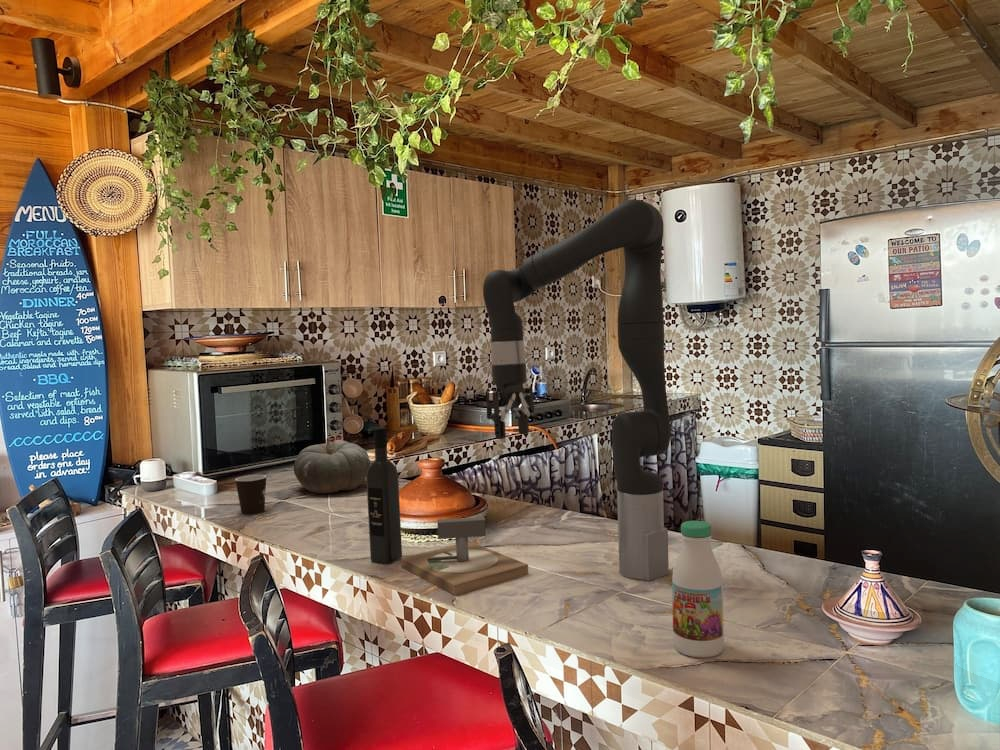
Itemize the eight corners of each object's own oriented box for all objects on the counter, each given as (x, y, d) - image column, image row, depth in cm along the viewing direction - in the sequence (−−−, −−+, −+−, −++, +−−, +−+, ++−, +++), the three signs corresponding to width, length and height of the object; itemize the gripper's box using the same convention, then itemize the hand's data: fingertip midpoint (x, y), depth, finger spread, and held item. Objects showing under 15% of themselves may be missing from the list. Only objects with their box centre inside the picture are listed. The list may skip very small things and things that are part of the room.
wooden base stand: (528, 573, 153) (527, 562, 153) (455, 595, 143) (454, 583, 143) (470, 549, 171) (469, 539, 171) (401, 567, 161) (400, 556, 161)
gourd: (351, 469, 261) (348, 422, 256) (388, 491, 242) (385, 441, 237) (284, 488, 245) (279, 439, 241) (317, 513, 227) (313, 461, 222)
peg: (485, 555, 159) (484, 516, 158) (486, 559, 156) (484, 519, 155) (427, 559, 158) (425, 520, 157) (427, 563, 155) (425, 523, 154)
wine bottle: (388, 565, 163) (381, 430, 160) (368, 561, 165) (361, 429, 163) (404, 557, 168) (397, 426, 165) (384, 554, 170) (377, 425, 168)
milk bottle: (674, 635, 121) (672, 516, 120) (723, 639, 119) (721, 518, 117) (671, 656, 114) (668, 529, 112) (724, 661, 111) (721, 531, 110)
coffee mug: (256, 516, 210) (253, 481, 209) (231, 514, 213) (228, 480, 212) (280, 506, 221) (278, 473, 220) (256, 504, 224) (254, 472, 223)
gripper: (502, 363, 153) (506, 441, 153) (541, 360, 164) (544, 432, 165) (474, 364, 157) (478, 440, 158) (513, 361, 169) (517, 432, 169)
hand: (512, 436), depth 161 cm, fingers open, 8 cm apart
